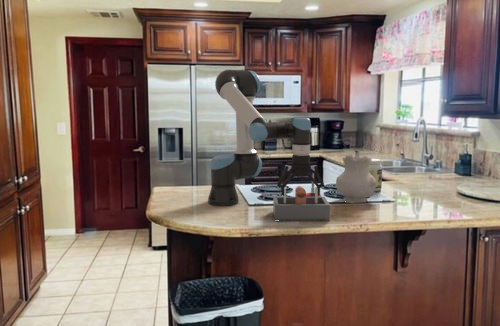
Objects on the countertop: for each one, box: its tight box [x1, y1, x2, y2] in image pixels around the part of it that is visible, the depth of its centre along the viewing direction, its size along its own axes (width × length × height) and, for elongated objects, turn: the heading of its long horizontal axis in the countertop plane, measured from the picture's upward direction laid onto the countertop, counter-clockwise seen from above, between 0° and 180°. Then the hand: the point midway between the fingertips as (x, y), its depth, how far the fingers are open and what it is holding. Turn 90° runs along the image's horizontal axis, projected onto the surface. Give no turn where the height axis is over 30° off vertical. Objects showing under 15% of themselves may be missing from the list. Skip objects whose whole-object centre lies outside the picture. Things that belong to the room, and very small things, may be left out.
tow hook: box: [306, 172, 322, 197], centre depth 223 cm, size 8×13×9 cm
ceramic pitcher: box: [335, 148, 376, 204], centre depth 213 cm, size 22×20×25 cm
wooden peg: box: [294, 185, 307, 204], centre depth 185 cm, size 4×6×12 cm, turn 179°
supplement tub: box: [368, 158, 383, 192], centre depth 237 cm, size 12×12×17 cm
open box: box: [272, 196, 331, 222], centre depth 186 cm, size 23×15×7 cm, turn 89°
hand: (300, 202), depth 186 cm, fingers open, 13 cm apart
